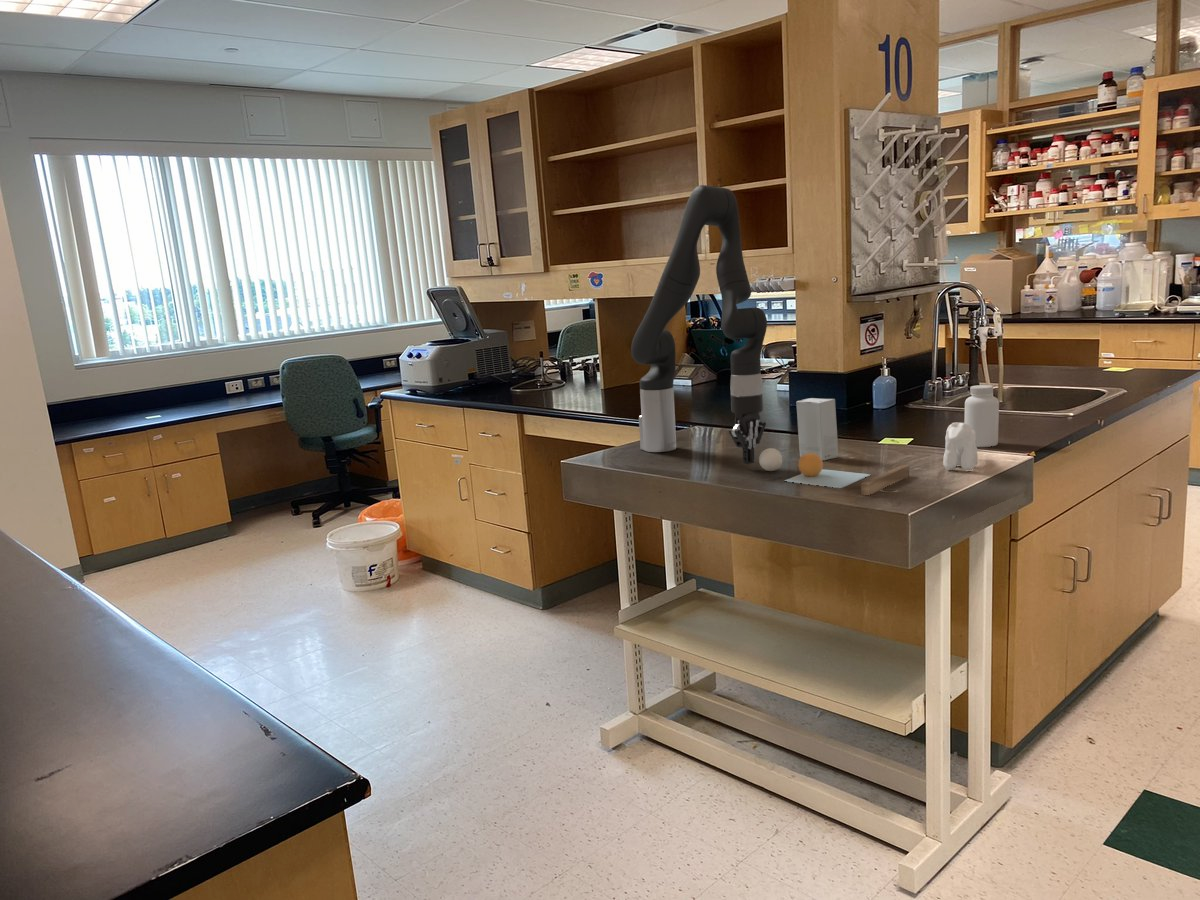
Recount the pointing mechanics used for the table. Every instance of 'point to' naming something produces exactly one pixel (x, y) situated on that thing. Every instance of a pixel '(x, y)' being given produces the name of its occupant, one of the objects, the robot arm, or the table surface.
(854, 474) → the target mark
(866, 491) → the stopper bar
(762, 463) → the cue ball
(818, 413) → the skincare box
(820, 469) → the object ball
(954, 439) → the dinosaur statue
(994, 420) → the pill bottle
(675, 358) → the robot arm
